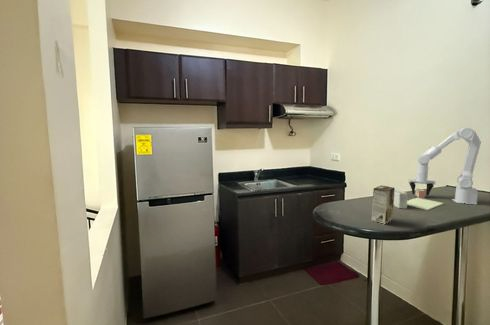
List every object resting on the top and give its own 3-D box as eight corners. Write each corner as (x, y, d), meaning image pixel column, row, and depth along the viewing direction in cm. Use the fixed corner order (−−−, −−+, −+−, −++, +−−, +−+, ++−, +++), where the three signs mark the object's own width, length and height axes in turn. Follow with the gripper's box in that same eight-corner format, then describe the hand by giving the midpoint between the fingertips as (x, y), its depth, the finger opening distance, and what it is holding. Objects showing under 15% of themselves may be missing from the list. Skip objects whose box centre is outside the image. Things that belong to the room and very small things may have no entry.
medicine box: (407, 208, 139) (408, 193, 138) (398, 208, 140) (400, 193, 138) (398, 204, 147) (399, 189, 146) (390, 204, 147) (392, 189, 146)
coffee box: (378, 216, 127) (380, 185, 125) (392, 220, 122) (395, 187, 120) (370, 221, 121) (373, 187, 119) (385, 225, 116) (387, 190, 114)
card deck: (421, 195, 166) (421, 189, 166) (424, 198, 160) (425, 191, 160) (415, 195, 167) (416, 188, 167) (418, 197, 161) (419, 190, 161)
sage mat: (416, 198, 159) (416, 197, 159) (443, 204, 148) (443, 203, 148) (400, 203, 149) (400, 202, 149) (428, 210, 137) (428, 209, 137)
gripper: (433, 173, 163) (431, 193, 165) (407, 172, 168) (405, 192, 170) (437, 175, 157) (435, 196, 158) (410, 173, 161) (408, 194, 163)
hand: (420, 194), depth 164 cm, fingers open, 7 cm apart
